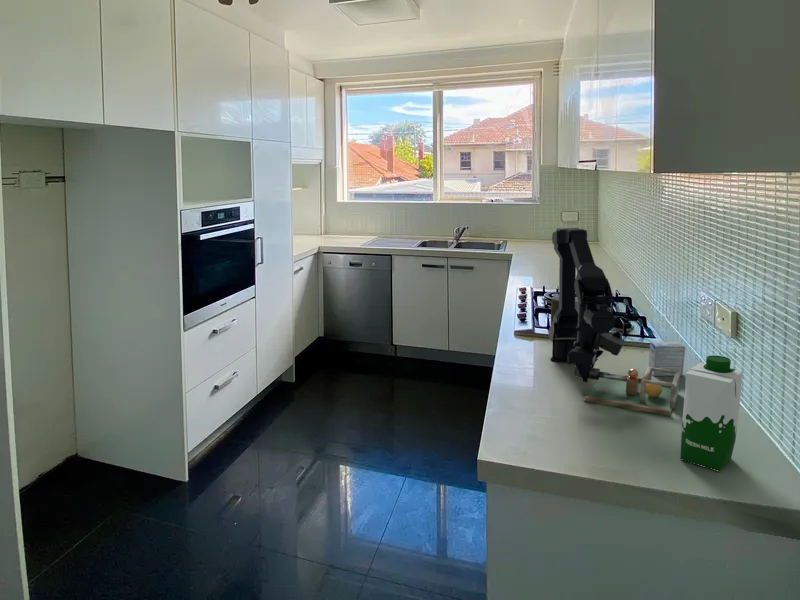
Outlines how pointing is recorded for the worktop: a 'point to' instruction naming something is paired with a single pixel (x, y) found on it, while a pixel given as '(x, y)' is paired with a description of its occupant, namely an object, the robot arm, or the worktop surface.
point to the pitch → (616, 394)
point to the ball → (653, 390)
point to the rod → (615, 378)
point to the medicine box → (666, 357)
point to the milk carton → (710, 412)
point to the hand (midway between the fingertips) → (586, 379)
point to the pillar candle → (556, 305)
